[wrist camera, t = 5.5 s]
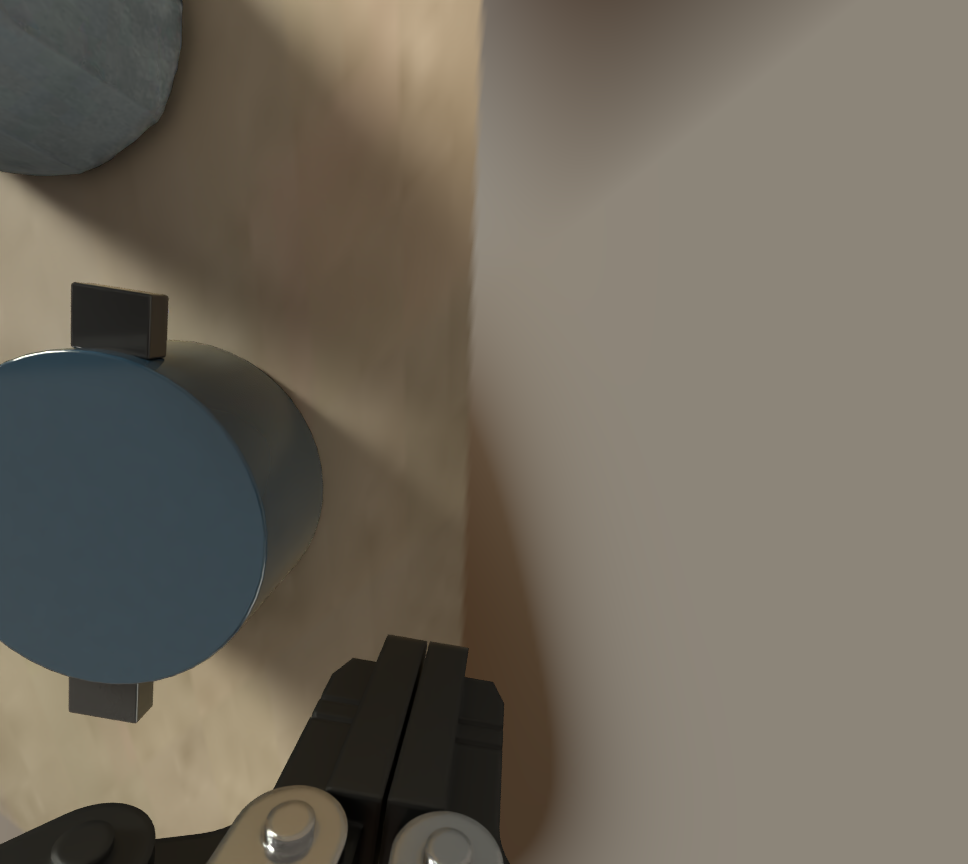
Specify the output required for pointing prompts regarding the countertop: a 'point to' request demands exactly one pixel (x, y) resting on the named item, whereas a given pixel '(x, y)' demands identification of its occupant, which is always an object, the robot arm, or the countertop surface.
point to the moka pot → (82, 79)
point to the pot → (142, 500)
